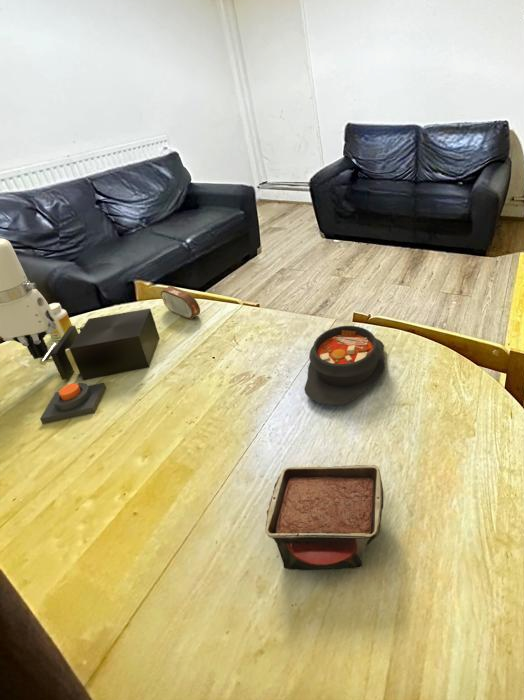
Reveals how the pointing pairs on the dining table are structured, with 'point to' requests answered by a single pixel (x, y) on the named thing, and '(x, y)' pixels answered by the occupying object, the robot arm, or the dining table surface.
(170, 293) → the tin
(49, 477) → the dining table surface
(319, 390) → the casserole
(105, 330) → the black rectangular box
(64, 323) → the supplement bottle
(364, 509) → the baking dish
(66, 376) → the drawer
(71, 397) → the button
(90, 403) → the panel
